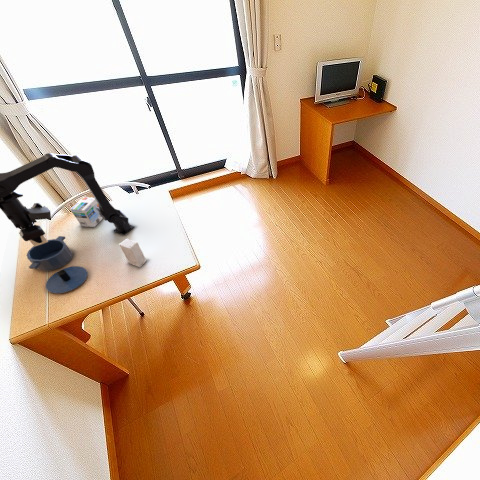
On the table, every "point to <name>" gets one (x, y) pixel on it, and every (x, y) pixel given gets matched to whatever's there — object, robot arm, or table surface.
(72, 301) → the table surface
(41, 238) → the block
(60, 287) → the lid
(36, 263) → the pot
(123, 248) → the cosmetic box
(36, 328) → the table surface
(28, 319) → the table surface
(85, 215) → the light bulb box
